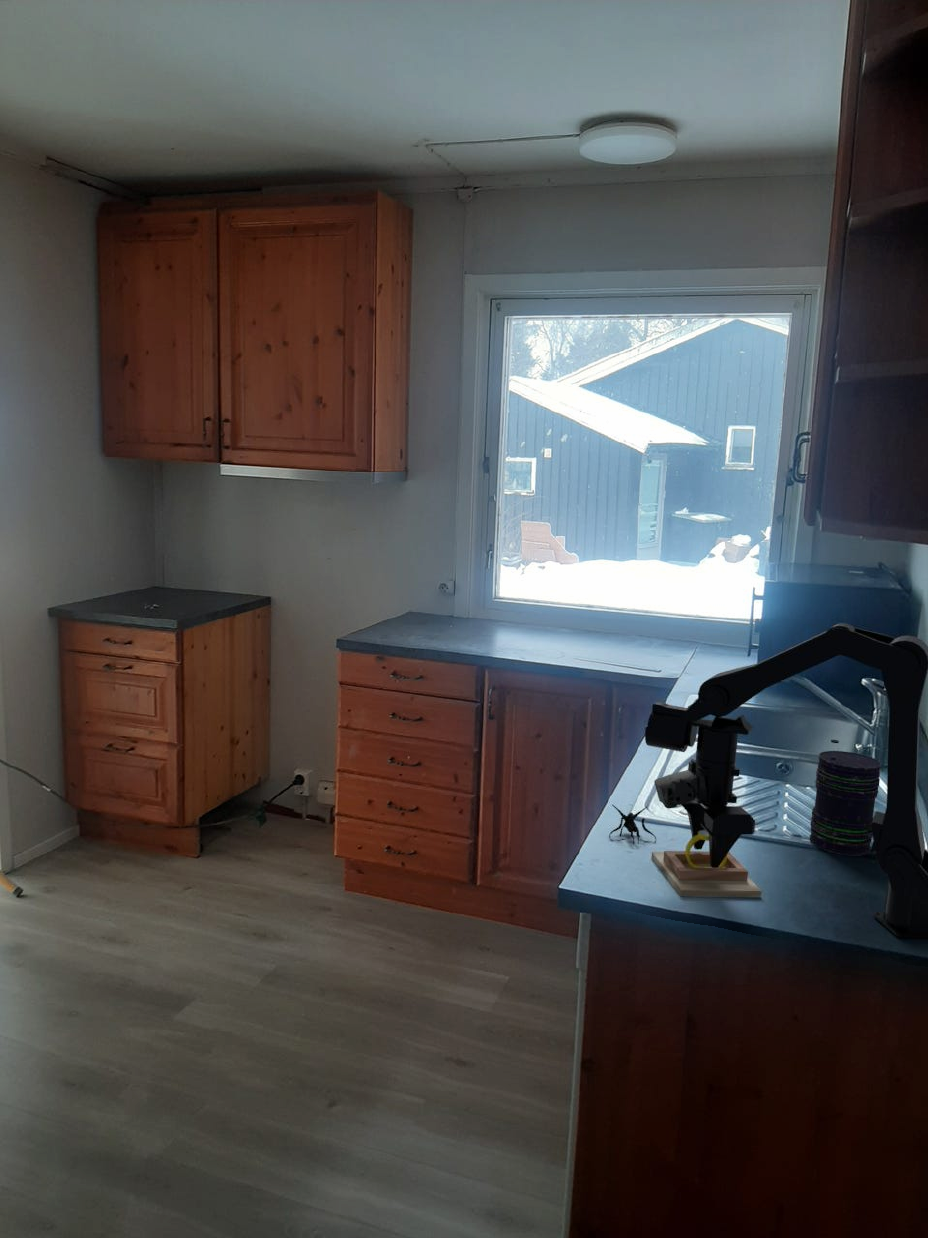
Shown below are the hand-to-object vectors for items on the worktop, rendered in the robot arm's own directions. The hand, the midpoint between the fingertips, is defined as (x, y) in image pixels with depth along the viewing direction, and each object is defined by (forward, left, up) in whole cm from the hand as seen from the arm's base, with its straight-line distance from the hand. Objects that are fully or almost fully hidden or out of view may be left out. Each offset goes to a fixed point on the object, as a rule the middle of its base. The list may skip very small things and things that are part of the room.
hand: (705, 858), depth 141 cm
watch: (0, 0, -2) cm, 2 cm away
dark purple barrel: (+14, -29, -3) cm, 32 cm away
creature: (+15, +7, -3) cm, 17 cm away
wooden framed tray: (0, 0, -3) cm, 3 cm away
